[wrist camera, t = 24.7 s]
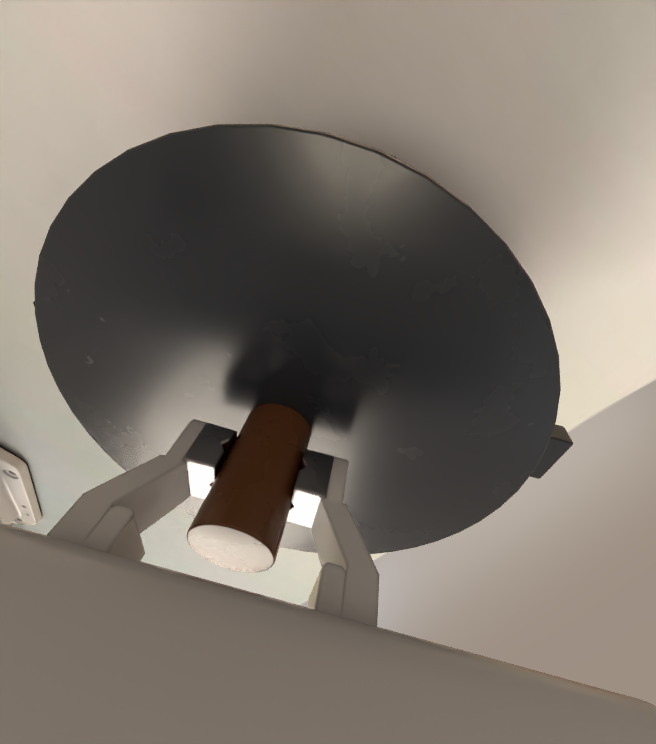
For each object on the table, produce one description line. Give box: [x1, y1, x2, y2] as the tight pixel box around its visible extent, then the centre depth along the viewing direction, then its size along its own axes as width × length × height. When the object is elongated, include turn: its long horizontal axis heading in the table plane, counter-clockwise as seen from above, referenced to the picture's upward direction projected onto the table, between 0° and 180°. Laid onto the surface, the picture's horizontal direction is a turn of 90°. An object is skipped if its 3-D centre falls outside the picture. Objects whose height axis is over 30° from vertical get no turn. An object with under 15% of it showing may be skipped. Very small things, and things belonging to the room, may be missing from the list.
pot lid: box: [35, 124, 560, 572], centre depth 11 cm, size 18×18×6 cm
